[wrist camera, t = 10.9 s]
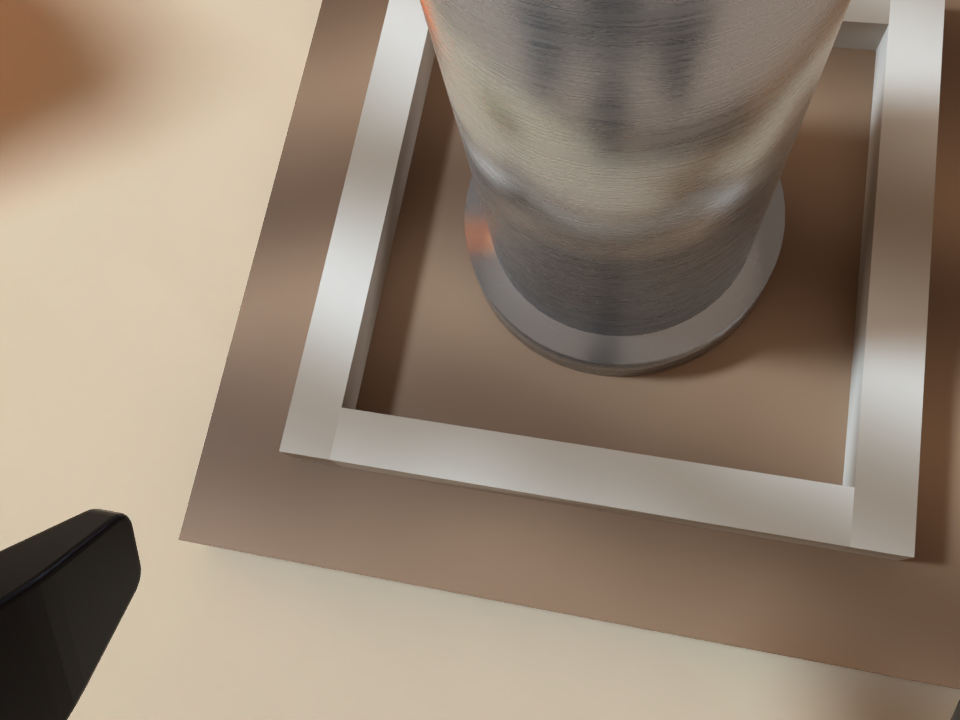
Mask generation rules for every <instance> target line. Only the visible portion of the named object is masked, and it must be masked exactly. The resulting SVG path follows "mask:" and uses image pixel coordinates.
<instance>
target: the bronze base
mask: <svg viewBox="0 0 960 720" xmlns="http://www.w3.org/2000/svg"><path fill="white" fill-rule="evenodd" d="M471 177H472V173H471V169H470V166H469V163H468V159H467V156H466V153H465V149H464V146H463V143H462V140H461V136H460V133H459V130H458V126H457V123H456V120H455V116H454V113H453V110H452V106H451V103H450V100H449V96H448V93H447V90H446V86H445V83H444V80H443V76H442V73H441V70H440V66H439V63H438V60H437V56H436V53H435V50H434V46H433V43H432V40H431V36H430V33H429V30H428V26H427V23H426V20H425V16H424V13H423V10H422V6H421V3H420V0H323V1H322V5H321V9H320V12H319V16H318V20H317V24H316V27H315V31H314V35H313V39H312V42H311V46H310V50H309V54H308V57H307V61H306V65H305V69H304V72H303V76H302V80H301V83H300V87H299V91H298V95H297V98H296V102H295V106H294V110H293V113H292V117H291V121H290V125H289V128H288V132H287V136H286V140H285V143H284V147H283V151H282V155H281V158H280V162H279V166H278V170H277V173H276V177H275V181H274V185H273V188H272V192H271V196H270V200H269V203H268V207H267V211H266V215H265V218H264V222H263V226H262V230H261V233H260V237H259V241H258V245H257V248H256V252H255V256H254V260H253V263H252V267H251V271H250V275H249V278H248V282H247V286H246V290H245V293H244V297H243V301H242V305H241V308H240V312H239V316H238V320H237V323H236V327H235V331H234V335H233V338H232V342H231V346H230V350H229V353H228V357H227V361H226V365H225V368H224V372H223V376H222V379H221V383H220V387H219V391H218V394H217V398H216V402H215V406H214V409H213V413H212V417H211V421H210V424H209V428H208V432H207V436H206V439H205V443H204V447H203V451H202V454H201V458H200V462H199V466H198V469H197V473H196V477H195V481H194V484H193V488H192V492H191V496H190V499H189V503H188V507H187V511H186V514H185V518H184V522H183V526H182V529H181V533H180V537H179V540H183V541H188V542H193V543H198V544H203V545H209V546H214V547H219V548H224V549H230V550H235V551H240V552H245V553H250V554H256V555H261V556H266V557H271V558H277V559H282V560H287V561H292V562H297V563H303V564H308V565H313V566H318V567H324V568H329V569H334V570H339V571H345V572H350V573H355V574H360V575H365V576H371V577H376V578H381V579H386V580H392V581H397V582H402V583H407V584H412V585H418V586H423V587H428V588H433V589H439V590H444V591H449V592H454V593H460V594H465V595H470V596H475V597H480V598H486V599H491V600H496V601H501V602H507V603H512V604H517V605H522V606H527V607H533V608H538V609H543V610H548V611H554V612H559V613H564V614H569V615H574V616H580V617H585V618H590V619H595V620H601V621H606V622H611V623H616V624H622V625H627V626H632V627H637V628H642V629H648V630H653V631H658V632H663V633H669V634H674V635H679V636H684V637H689V638H695V639H700V640H705V641H710V642H716V643H721V644H726V645H731V646H736V647H742V648H747V649H752V650H757V651H763V652H768V653H773V654H778V655H784V656H789V657H794V658H799V659H804V660H810V661H815V662H820V663H825V664H831V665H836V666H841V667H846V668H851V669H857V670H862V671H867V672H872V673H878V674H883V675H888V676H893V677H898V678H904V679H909V680H914V681H919V682H925V683H930V684H935V685H940V686H946V687H951V688H956V689H960V0H851V2H850V4H849V7H848V9H847V12H846V14H845V17H844V19H843V22H842V24H841V27H840V29H839V32H838V34H837V37H836V39H835V42H834V44H833V47H832V49H831V52H830V54H829V57H828V59H827V62H826V64H825V67H824V69H823V72H822V74H821V77H820V79H819V82H818V84H817V87H816V89H815V92H814V94H813V97H812V99H811V101H810V104H809V106H808V109H807V111H806V114H805V116H804V119H803V121H802V124H801V126H800V129H799V131H798V134H797V136H796V139H795V141H794V144H793V146H792V149H791V151H790V154H789V156H788V159H787V161H786V164H785V166H784V169H783V171H782V174H781V176H780V181H781V184H782V188H783V195H784V203H785V229H784V234H783V240H782V246H781V249H780V253H779V256H778V259H777V262H776V265H775V267H774V269H773V271H772V273H771V275H770V277H769V279H768V281H767V283H766V285H765V288H764V290H763V292H762V294H761V296H760V298H759V300H758V302H757V303H756V305H755V306H754V308H753V309H752V311H751V312H750V314H749V315H748V316H747V318H746V319H745V320H744V321H743V322H742V324H741V325H740V326H739V327H738V328H737V329H736V330H735V331H734V332H733V333H732V334H731V335H730V336H729V337H728V338H726V339H725V340H724V341H723V342H722V343H720V344H719V345H718V346H717V347H715V348H714V349H712V350H710V351H709V352H707V353H706V354H704V355H703V356H701V357H699V358H697V359H695V360H693V361H691V362H688V363H686V364H684V365H682V366H679V367H676V368H673V369H670V370H667V371H663V372H660V373H654V374H649V375H643V376H631V377H611V376H598V375H593V374H588V373H583V372H578V371H575V370H572V369H569V368H566V367H563V366H560V365H558V364H556V363H554V362H552V361H550V360H548V359H546V358H544V357H542V356H540V355H539V354H537V353H535V352H534V351H532V350H531V349H529V348H528V347H526V346H525V345H524V344H523V343H521V342H520V341H519V340H518V339H517V338H516V337H515V336H513V335H512V334H511V333H510V332H509V331H508V330H507V328H506V327H505V326H504V325H503V324H502V323H501V322H500V320H499V319H498V318H497V316H496V315H495V313H494V312H493V310H492V309H491V307H490V306H489V304H488V302H487V300H486V298H485V296H484V294H483V292H482V290H481V288H480V285H479V282H478V280H477V277H476V274H475V272H474V269H473V266H472V263H471V260H470V256H469V253H468V250H467V243H466V237H465V221H464V213H465V205H466V196H467V192H468V188H469V185H470V181H471Z"/></svg>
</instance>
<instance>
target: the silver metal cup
mask: <svg viewBox="0 0 960 720" xmlns="http://www.w3.org/2000/svg"><path fill="white" fill-rule="evenodd" d="M850 2H851V0H420V3H421V6H422V10H423V13H424V16H425V20H426V23H427V26H428V30H429V33H430V36H431V40H432V43H433V46H434V50H435V53H436V56H437V60H438V63H439V66H440V70H441V73H442V76H443V80H444V83H445V86H446V90H447V93H448V96H449V100H450V103H451V106H452V110H453V113H454V116H455V120H456V123H457V126H458V130H459V133H460V136H461V140H462V143H463V146H464V149H465V153H466V156H467V159H468V163H469V166H470V169H471V173H472V177H471V181H470V185H469V188H468V192H467V196H466V205H465V213H464V221H465V237H466V243H467V250H468V253H469V256H470V260H471V263H472V266H473V269H474V272H475V274H476V277H477V280H478V282H479V285H480V288H481V290H482V292H483V294H484V296H485V298H486V300H487V302H488V304H489V306H490V307H491V309H492V310H493V312H494V313H495V315H496V316H497V318H498V319H499V320H500V322H501V323H502V324H503V325H504V326H505V327H506V328H507V330H508V331H509V332H510V333H511V334H512V335H513V336H515V337H516V338H517V339H518V340H519V341H520V342H521V343H523V344H524V345H525V346H526V347H528V348H529V349H531V350H532V351H534V352H535V353H537V354H539V355H540V356H542V357H544V358H546V359H548V360H550V361H552V362H554V363H556V364H558V365H560V366H563V367H566V368H569V369H572V370H575V371H578V372H583V373H588V374H593V375H598V376H611V377H631V376H643V375H649V374H654V373H660V372H663V371H667V370H670V369H673V368H676V367H679V366H682V365H684V364H686V363H688V362H691V361H693V360H695V359H697V358H699V357H701V356H703V355H704V354H706V353H707V352H709V351H710V350H712V349H714V348H715V347H717V346H718V345H719V344H720V343H722V342H723V341H724V340H725V339H726V338H728V337H729V336H730V335H731V334H732V333H733V332H734V331H735V330H736V329H737V328H738V327H739V326H740V325H741V324H742V322H743V321H744V320H745V319H746V318H747V316H748V315H749V314H750V312H751V311H752V309H753V308H754V306H755V305H756V303H757V302H758V300H759V298H760V296H761V294H762V292H763V290H764V288H765V285H766V283H767V281H768V279H769V277H770V275H771V273H772V271H773V269H774V267H775V265H776V262H777V259H778V256H779V253H780V249H781V246H782V240H783V234H784V229H785V203H784V195H783V188H782V184H781V181H780V176H781V174H782V171H783V169H784V166H785V164H786V161H787V159H788V156H789V154H790V151H791V149H792V146H793V144H794V141H795V139H796V136H797V134H798V131H799V129H800V126H801V124H802V121H803V119H804V116H805V114H806V111H807V109H808V106H809V104H810V101H811V99H812V97H813V94H814V92H815V89H816V87H817V84H818V82H819V79H820V77H821V74H822V72H823V69H824V67H825V64H826V62H827V59H828V57H829V54H830V52H831V49H832V47H833V44H834V42H835V39H836V37H837V34H838V32H839V29H840V27H841V24H842V22H843V19H844V17H845V14H846V12H847V9H848V7H849V4H850Z"/></svg>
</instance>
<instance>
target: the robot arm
mask: <svg viewBox="0 0 960 720" xmlns="http://www.w3.org/2000/svg"><path fill="white" fill-rule="evenodd" d="M140 575H141V565H140V560H139V556H138V551H137V546H136V541H135V537H134V532H133V527H132V523H131V521H130V519H129V518H128V517H127V515H124V514H123V513H118V512H113V511H107V510H102V509H91V510H88V511H85V512H83V513H81V514H79V515H77V516H75V517H73V518H70V519H68V520H66V521H64V522H62V523H60V524H58V525H55V526H53V527H51V528H49V529H47V530H45V531H43V532H40V533H38V534H36V535H34V536H32V537H30V538H28V539H25V540H23V541H21V542H19V543H17V544H15V545H13V546H11V547H8V548H6V549H4V550H2V551H0V720H67V719H68V717H69V716H70V714H71V712H72V711H73V709H74V707H75V706H76V704H77V702H78V700H79V699H80V697H81V695H82V693H83V691H84V690H85V688H86V686H87V684H88V682H89V680H90V678H91V676H92V674H93V672H94V671H95V669H96V667H97V665H98V663H99V661H100V659H101V657H102V655H103V653H104V651H105V649H106V647H107V645H108V644H109V642H110V640H111V638H112V636H113V634H114V632H115V630H116V628H117V626H118V624H119V622H120V620H121V618H122V617H123V615H124V613H125V611H126V609H127V607H128V605H129V603H130V601H131V599H132V597H133V595H134V593H135V591H136V589H137V587H138V584H139V581H140ZM951 720H960V700H959V702H958V704H957V707H956V709H955V711H954V713H953V716H952V718H951Z"/></svg>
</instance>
